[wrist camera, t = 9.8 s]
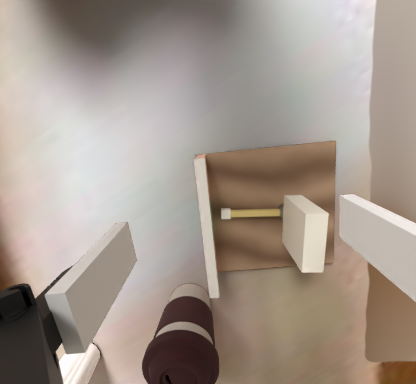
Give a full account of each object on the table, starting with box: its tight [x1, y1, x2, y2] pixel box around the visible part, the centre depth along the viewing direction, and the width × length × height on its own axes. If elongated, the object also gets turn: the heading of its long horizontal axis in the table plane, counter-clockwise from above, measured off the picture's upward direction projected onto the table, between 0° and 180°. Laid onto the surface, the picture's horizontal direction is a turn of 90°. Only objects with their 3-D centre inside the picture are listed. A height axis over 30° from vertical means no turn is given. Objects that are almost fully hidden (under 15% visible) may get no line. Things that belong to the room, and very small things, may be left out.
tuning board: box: [195, 141, 336, 272], centre depth 38 cm, size 20×21×1 cm
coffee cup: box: [142, 284, 219, 384], centre depth 36 cm, size 10×10×15 cm
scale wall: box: [194, 154, 219, 298], centre depth 35 cm, size 20×1×7 cm, turn 6°
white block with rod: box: [221, 195, 329, 273], centre depth 32 cm, size 11×7×12 cm, turn 92°
